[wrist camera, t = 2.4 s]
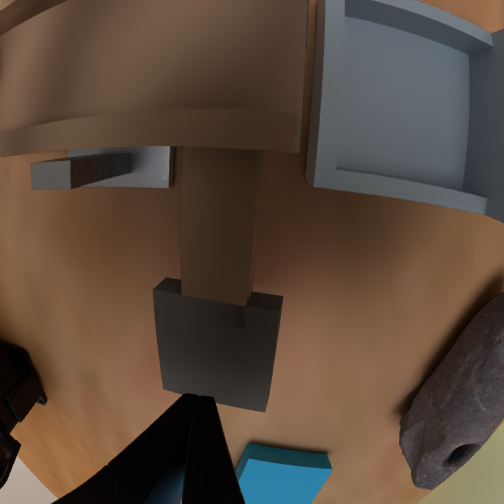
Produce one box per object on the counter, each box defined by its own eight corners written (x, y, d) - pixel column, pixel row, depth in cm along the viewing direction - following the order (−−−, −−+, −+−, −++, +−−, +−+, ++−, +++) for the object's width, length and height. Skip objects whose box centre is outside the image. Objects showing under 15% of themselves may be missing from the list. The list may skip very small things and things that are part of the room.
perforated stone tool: (479, 263, 15) (549, 316, 9) (520, 284, 16) (578, 332, 9) (371, 430, 20) (389, 500, 14) (418, 433, 21) (441, 494, 14)
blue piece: (247, 411, 26) (206, 514, 27) (248, 458, 19) (201, 555, 20) (316, 424, 26) (260, 523, 27) (333, 469, 19) (262, 563, 20)
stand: (75, 184, 15) (2, 207, 10) (93, 5, 12) (33, -31, 6) (173, 186, 15) (119, 211, 9) (191, -12, 11) (156, -73, 6)
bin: (305, 179, 15) (342, 215, 7) (316, 3, 11) (349, -91, 4) (464, 204, 14) (564, 250, 7) (472, 49, 11) (566, 21, 4)
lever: (-7, 305, 14) (-48, 332, 10) (-17, 46, 9) (-67, 43, 5) (269, 394, 11) (250, 473, 8) (309, -43, 6) (301, -117, 3)
